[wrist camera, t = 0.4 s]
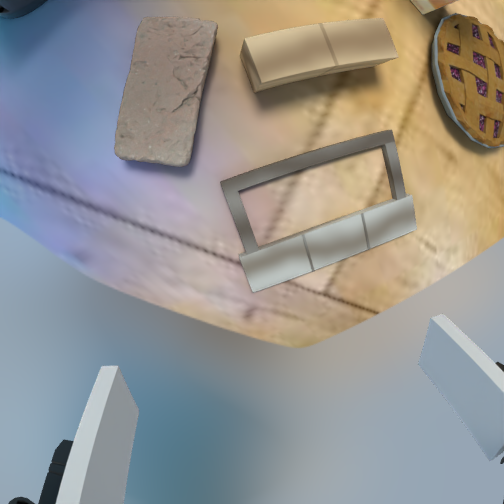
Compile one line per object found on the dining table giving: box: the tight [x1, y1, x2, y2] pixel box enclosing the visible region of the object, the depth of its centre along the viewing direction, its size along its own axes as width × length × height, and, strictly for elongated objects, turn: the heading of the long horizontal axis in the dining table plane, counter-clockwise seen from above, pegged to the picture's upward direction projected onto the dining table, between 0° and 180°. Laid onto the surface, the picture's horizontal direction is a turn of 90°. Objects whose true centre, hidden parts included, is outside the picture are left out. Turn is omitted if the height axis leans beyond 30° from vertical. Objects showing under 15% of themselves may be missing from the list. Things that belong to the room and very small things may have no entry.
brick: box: [114, 17, 218, 167], centre depth 28 cm, size 17×8×5 cm, turn 169°
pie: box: [432, 13, 504, 148], centre depth 30 cm, size 22×22×5 cm
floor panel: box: [220, 130, 417, 293], centre depth 36 cm, size 14×24×1 cm, turn 109°
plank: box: [240, 18, 398, 93], centre depth 27 cm, size 5×16×6 cm, turn 109°
